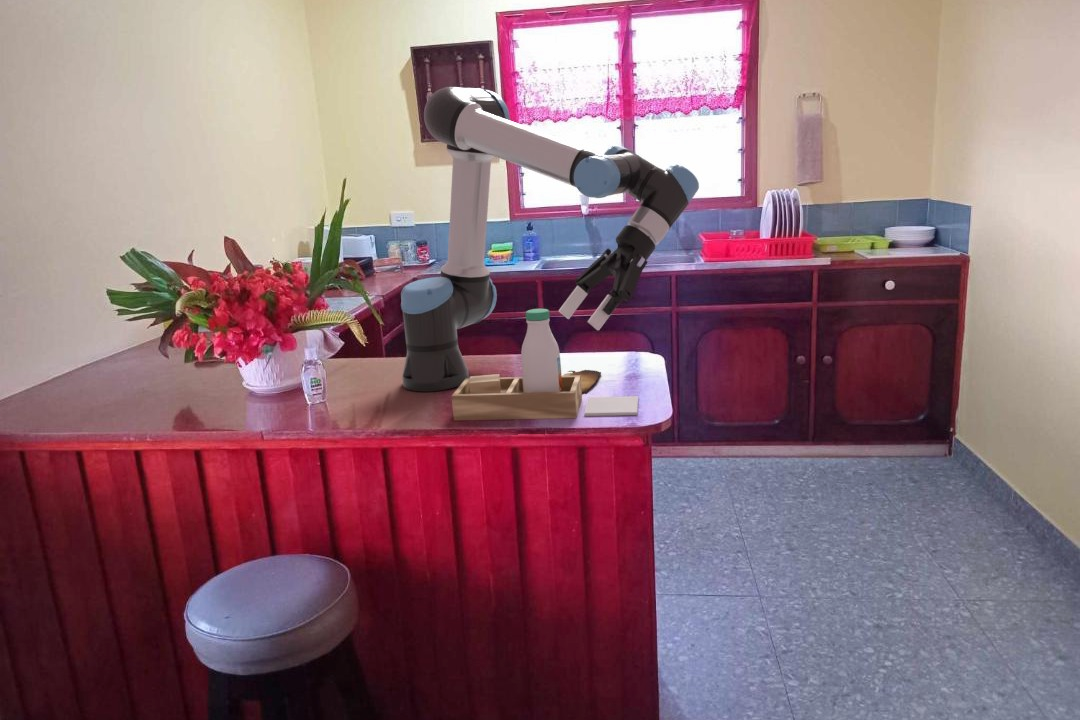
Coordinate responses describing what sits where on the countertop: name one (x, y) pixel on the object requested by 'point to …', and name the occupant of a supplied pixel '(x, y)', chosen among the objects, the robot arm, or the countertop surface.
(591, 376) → the parchment
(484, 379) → the offcut top
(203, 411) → the countertop surface
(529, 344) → the milk bottle
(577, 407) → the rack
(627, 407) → the coaster
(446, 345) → the robot arm
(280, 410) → the countertop surface
